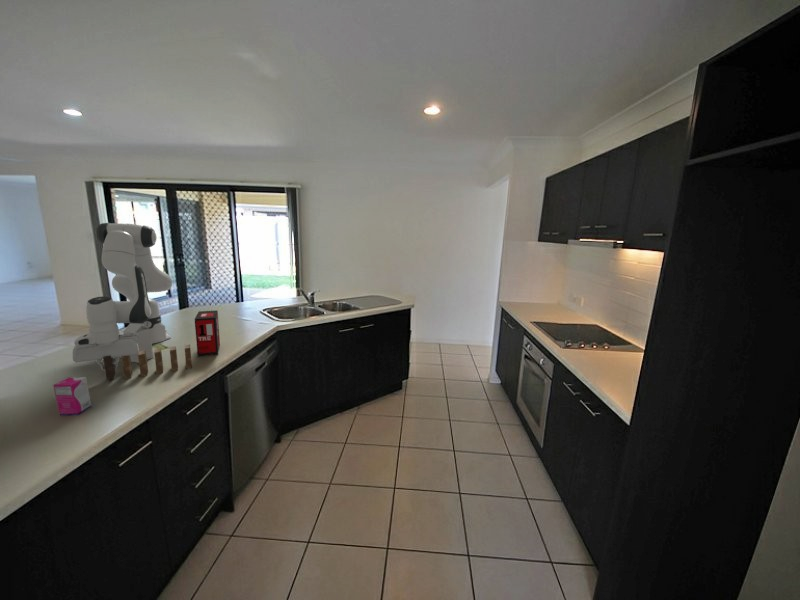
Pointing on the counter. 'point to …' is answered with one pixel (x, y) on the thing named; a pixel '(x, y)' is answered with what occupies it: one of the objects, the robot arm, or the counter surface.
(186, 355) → the tile
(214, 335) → the cleaning product box
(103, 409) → the counter surface
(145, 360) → the tile
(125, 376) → the tile
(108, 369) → the tile
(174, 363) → the tile
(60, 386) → the supplement box
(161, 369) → the tile
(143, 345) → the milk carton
